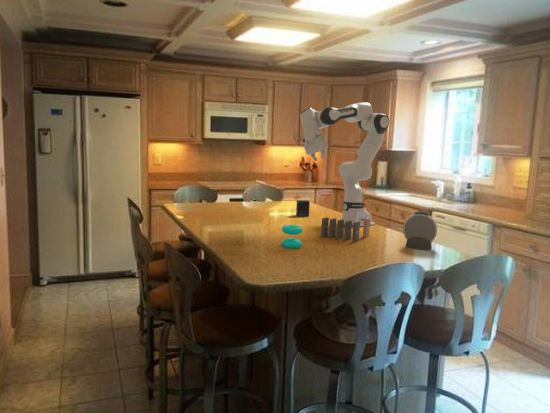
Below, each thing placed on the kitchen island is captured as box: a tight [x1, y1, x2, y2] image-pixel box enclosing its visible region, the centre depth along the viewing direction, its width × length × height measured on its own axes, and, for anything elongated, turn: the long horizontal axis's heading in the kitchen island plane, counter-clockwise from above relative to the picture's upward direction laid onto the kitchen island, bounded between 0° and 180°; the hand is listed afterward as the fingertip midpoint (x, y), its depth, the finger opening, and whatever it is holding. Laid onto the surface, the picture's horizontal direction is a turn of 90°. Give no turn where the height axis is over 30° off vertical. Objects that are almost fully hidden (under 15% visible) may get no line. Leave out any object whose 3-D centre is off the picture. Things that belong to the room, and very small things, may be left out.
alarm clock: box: [402, 210, 438, 251], centre depth 239 cm, size 16×10×18 cm, turn 70°
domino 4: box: [343, 220, 353, 242], centre depth 251 cm, size 2×5×10 cm, turn 148°
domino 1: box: [320, 216, 330, 238], centre depth 258 cm, size 2×5×10 cm, turn 148°
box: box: [295, 199, 310, 217], centre depth 325 cm, size 8×6×11 cm
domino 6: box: [362, 218, 371, 238], centre depth 263 cm, size 2×5×10 cm, turn 148°
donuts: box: [280, 224, 303, 249], centre depth 229 cm, size 10×10×10 cm
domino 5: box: [351, 221, 361, 243], centre depth 249 cm, size 2×5×10 cm, turn 148°
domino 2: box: [328, 217, 337, 239], centre depth 256 cm, size 2×5×10 cm, turn 148°
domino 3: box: [335, 218, 345, 240], centre depth 254 cm, size 2×5×10 cm, turn 148°
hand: (319, 159), depth 277 cm, fingers open, 8 cm apart
